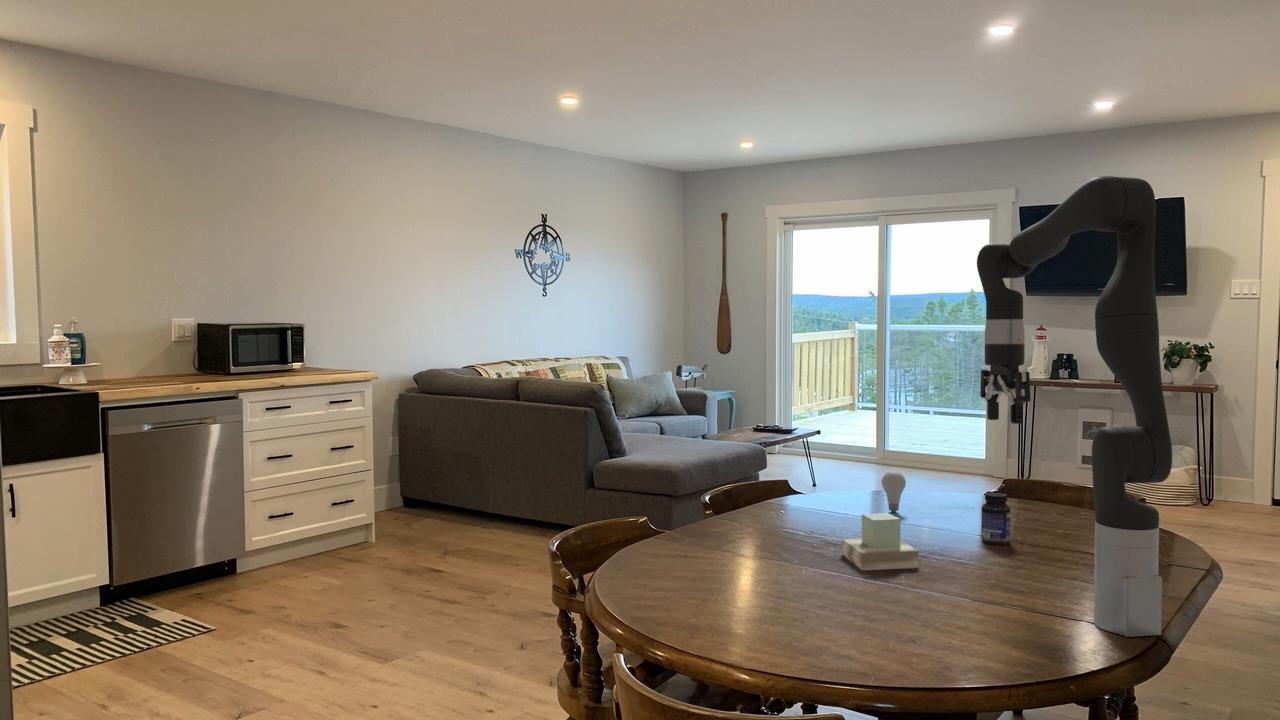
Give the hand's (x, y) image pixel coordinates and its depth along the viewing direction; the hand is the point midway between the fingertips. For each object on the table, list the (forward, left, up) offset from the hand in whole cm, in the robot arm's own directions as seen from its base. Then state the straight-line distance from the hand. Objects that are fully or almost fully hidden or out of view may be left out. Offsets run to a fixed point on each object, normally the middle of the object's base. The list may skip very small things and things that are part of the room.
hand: (1004, 421), depth 182 cm
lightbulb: (+54, +1, -30) cm, 62 cm away
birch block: (+9, +23, -31) cm, 39 cm away
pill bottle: (+20, -9, -30) cm, 37 cm away
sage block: (+9, +23, -27) cm, 36 cm away
